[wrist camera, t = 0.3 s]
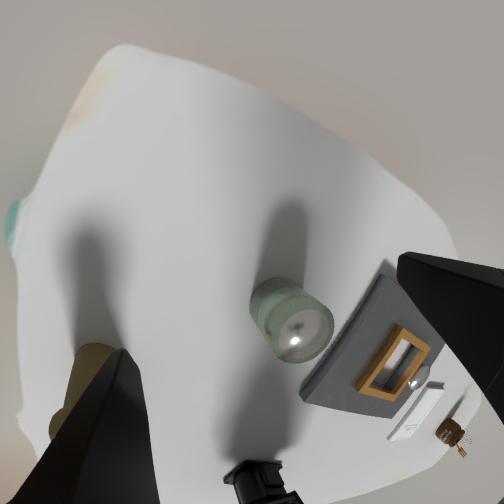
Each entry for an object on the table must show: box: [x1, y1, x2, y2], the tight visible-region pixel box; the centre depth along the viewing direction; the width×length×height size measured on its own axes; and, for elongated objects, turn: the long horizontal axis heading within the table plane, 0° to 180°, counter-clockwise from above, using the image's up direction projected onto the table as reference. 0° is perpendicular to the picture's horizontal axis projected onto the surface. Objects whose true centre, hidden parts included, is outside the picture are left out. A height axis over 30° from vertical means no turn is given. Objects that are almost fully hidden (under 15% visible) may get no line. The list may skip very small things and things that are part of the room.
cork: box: [49, 343, 115, 441], centre depth 16 cm, size 6×6×11 cm
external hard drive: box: [387, 386, 445, 441], centre depth 37 cm, size 2×8×12 cm
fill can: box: [249, 278, 334, 363], centre depth 22 cm, size 5×5×6 cm
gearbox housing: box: [299, 274, 445, 419], centre depth 29 cm, size 16×20×2 cm
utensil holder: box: [436, 418, 467, 458], centre depth 40 cm, size 6×6×12 cm
